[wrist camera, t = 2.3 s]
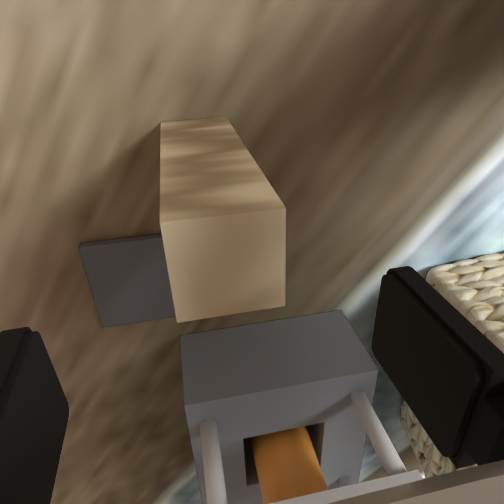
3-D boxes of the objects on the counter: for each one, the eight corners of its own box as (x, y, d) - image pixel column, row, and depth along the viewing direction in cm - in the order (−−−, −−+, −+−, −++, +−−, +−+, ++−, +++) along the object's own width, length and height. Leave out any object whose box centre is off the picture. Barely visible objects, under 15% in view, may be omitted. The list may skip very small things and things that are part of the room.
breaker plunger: (246, 410, 33) (269, 512, 26) (302, 399, 33) (338, 495, 27) (249, 445, 35) (269, 546, 28) (301, 434, 36) (333, 531, 29)
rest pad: (184, 230, 28) (184, 234, 27) (195, 308, 31) (195, 313, 31) (80, 243, 27) (78, 247, 26) (103, 322, 30) (102, 327, 30)
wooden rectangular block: (226, 116, 25) (286, 208, 13) (230, 178, 27) (285, 306, 15) (160, 122, 24) (159, 222, 12) (169, 184, 26) (177, 322, 14)
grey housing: (180, 335, 33) (191, 527, 20) (341, 309, 35) (440, 469, 22) (208, 503, 46) (226, 680, 34) (324, 477, 48) (379, 635, 36)
